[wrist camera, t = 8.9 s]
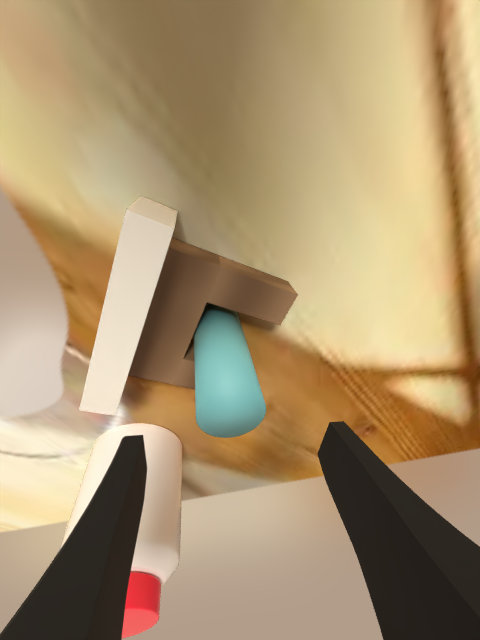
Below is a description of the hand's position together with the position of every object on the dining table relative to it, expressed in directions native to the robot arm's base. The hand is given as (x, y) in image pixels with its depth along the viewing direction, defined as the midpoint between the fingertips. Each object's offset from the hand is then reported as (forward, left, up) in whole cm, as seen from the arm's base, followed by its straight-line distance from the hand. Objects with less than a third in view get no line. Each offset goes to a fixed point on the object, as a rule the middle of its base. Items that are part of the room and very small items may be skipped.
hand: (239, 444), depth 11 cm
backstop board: (+6, +1, -10) cm, 11 cm away
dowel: (0, +1, -10) cm, 10 cm away
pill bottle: (+2, +16, -10) cm, 19 cm away
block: (+1, +1, -10) cm, 10 cm away
